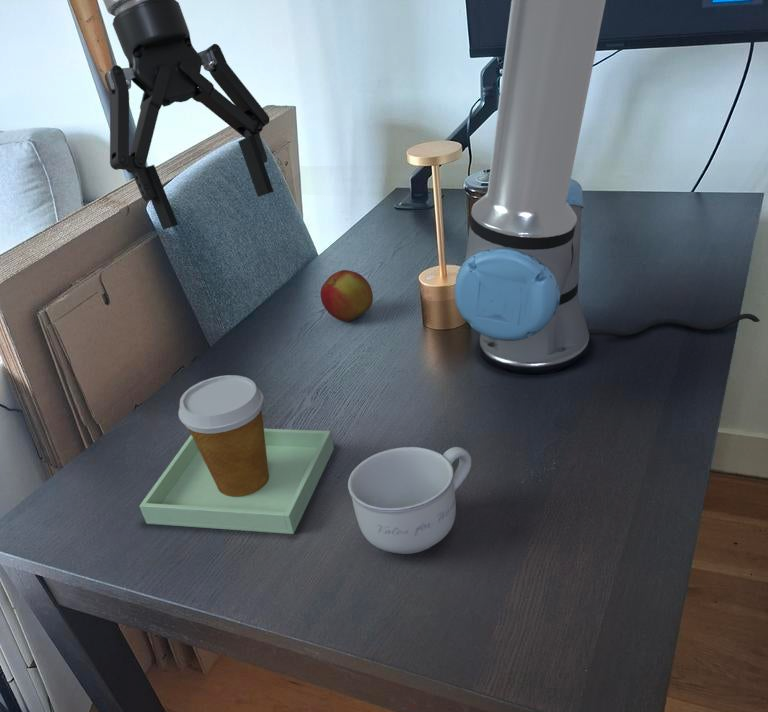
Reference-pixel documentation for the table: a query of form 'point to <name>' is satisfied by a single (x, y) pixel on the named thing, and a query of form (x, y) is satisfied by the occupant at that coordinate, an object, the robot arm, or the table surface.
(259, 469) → the disposable coffee cup
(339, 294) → the apple
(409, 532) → the teacup
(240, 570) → the table surface
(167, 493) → the tray
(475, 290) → the robot arm
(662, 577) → the table surface
